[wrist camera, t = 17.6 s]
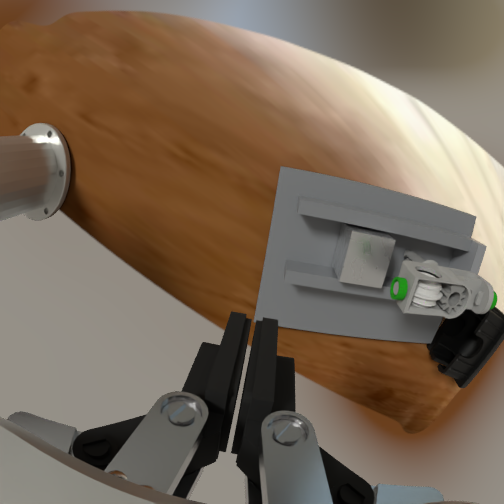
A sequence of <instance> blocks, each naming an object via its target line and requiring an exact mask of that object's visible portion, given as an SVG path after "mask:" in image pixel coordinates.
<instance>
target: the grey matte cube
mask: <svg viewBox="0 0 504 504" xmlns="http://www.w3.org/2000/svg"><path fill="white" fill-rule="evenodd" d="M395 241H396V240H395V239H394V238H392V237H391V236H390V235H388V234H387V233H386V232H385V231H381V230H377V229H372V228H367V227H363V226H358V225H353V224H348V223H344V222H342V225H341V229H340V234H339V238H338V242H337V246H336V251H335V255H334V259H333V263H332V266H333V268H334V271H335V273H336V275H337V278H338V280H339V282H345V283H351V284H357V285H364V286H370V287H376V288H382V285H383V282H384V279H385V276H386V273H387V269H388V266H389V263H390V259H391V256H392V252H393V249H394V245H395Z"/></svg>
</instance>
